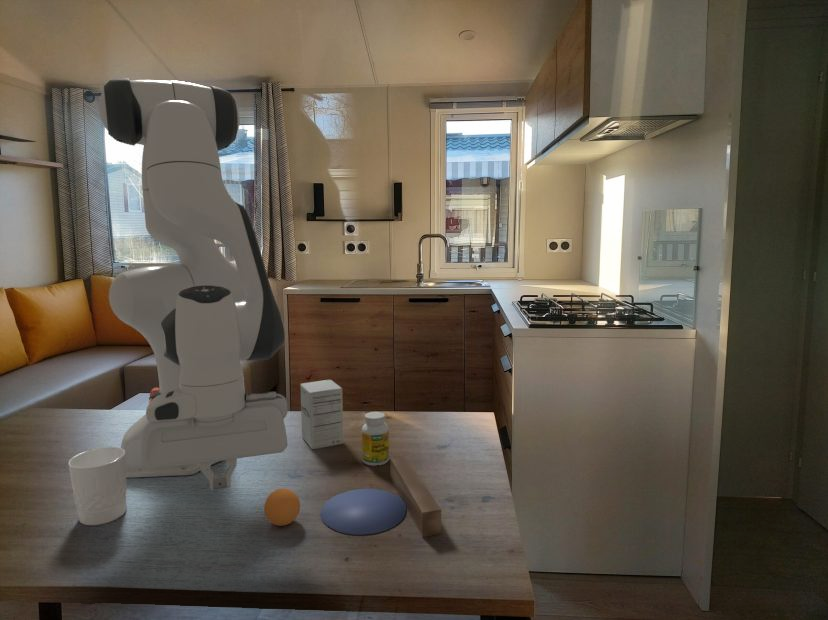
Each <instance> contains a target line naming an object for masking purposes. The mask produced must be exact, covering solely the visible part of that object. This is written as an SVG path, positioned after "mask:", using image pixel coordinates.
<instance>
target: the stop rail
mask: <svg viewBox="0 0 828 620" xmlns="http://www.w3.org/2000/svg"><path fill="white" fill-rule="evenodd" d="M389 464H390V465H389V466H390V467H389V468H390V469H389V470H390V472H389V474H390V477H389V478H390V480H391V481H392V483H394V484H393V485H395V486H394V487H395V489H396V491H397V493H398V495H399V498H401V499H402V500H403V502H404V503H405V505H406V511H407V512H408V513H409V515H410V517H411V518H412V520H413V523H414V524H415V526H416V528H417V530H418V532H419V534H420V535H421V537H422V538H425V537H426V538H427V537H430V536H437V535H442V509H441V507H440V506H439V504H438V502H437V501H436V500H435V498H434V496H433V494H432V493H431V492H430V490H429V489H428V487H427V485H426V484H425V483H424V481H423V480H422V478H421V477H420V475H419V474H418V472H417V471H416V469H415V467H414V465H413V464H412V462H410V460H409V459H408V457H407V455H401V456H399V455H398V456H392V457H390V456H389Z"/></svg>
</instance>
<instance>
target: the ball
mask: <svg viewBox="0 0 828 620" xmlns="http://www.w3.org/2000/svg"><path fill="white" fill-rule="evenodd" d="M263 508H264V509H263V511H264V512H263V513H264V515H265V517H266V519H267V521H268V522H270V523H271V524H273V525H274V526H278V527H279V526H281V527H282V526H284V527H285V526H287V525H289V524H291V523H292V522H293V521H295V520H296V518H297V517H298V515H299V513H300V509H301V501H300V498H299V497H298V495H297V493H295V492H294V491H293V490H291V489H289V488H278V489H276V490H274V491H272V492H271V493H270V494H269V495H268V497H266V500H265V501H264V505H263Z"/></svg>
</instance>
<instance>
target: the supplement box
mask: <svg viewBox="0 0 828 620" xmlns="http://www.w3.org/2000/svg"><path fill="white" fill-rule="evenodd" d="M343 408H344V407H343V387H342V386H340V385H339V384H337V382H335V381H333V380H332V379H325V380H324V379H323V380H317V381H310V382H303V383H300V413H301V414H300V415H301V438H302V439H303V440H304V441H305V442H306V443H307V445H308V446H309V447H310V448H311V450H318V449H321V448H329V447H333V446H337V445H342V444H344V415H343V414H344V409H343Z"/></svg>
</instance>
